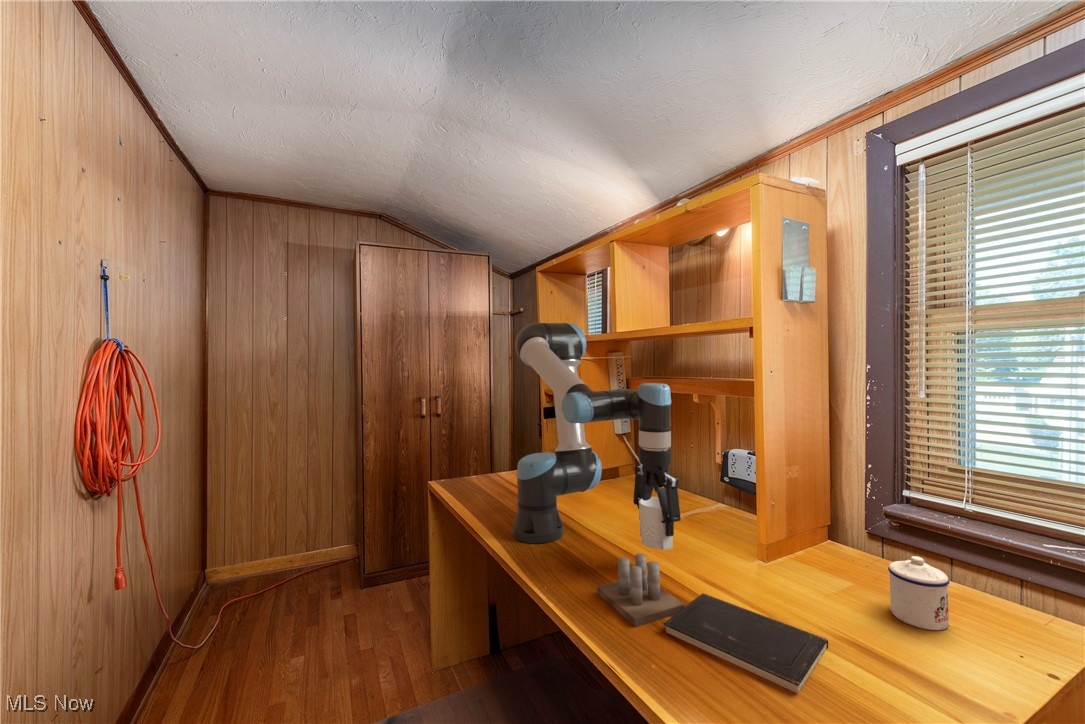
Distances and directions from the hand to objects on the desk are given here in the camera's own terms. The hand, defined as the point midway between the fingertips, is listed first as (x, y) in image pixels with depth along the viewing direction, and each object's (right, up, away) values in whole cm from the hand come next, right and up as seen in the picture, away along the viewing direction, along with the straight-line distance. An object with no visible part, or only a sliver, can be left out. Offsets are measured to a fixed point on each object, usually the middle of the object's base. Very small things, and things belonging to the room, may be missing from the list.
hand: (655, 541), depth 109 cm
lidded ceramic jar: (+46, -6, -21) cm, 51 cm away
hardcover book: (+9, -8, -27) cm, 30 cm away
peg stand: (-7, -7, -14) cm, 17 cm away
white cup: (0, -1, 0) cm, 1 cm away
